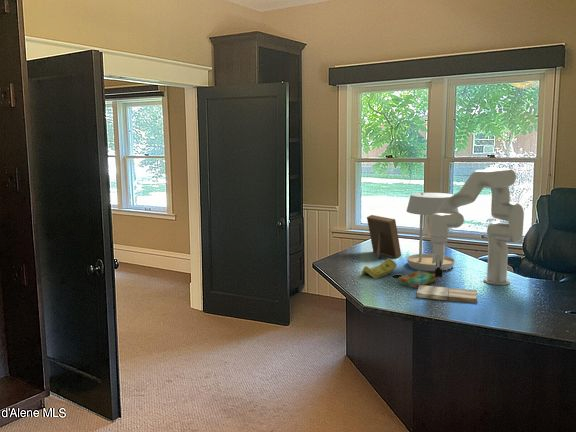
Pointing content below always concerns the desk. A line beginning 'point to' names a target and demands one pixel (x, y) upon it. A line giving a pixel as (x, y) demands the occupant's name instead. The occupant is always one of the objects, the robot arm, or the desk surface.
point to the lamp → (422, 206)
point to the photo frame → (384, 236)
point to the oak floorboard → (462, 295)
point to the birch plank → (433, 292)
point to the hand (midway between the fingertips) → (438, 276)
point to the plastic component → (380, 269)
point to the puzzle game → (417, 279)
